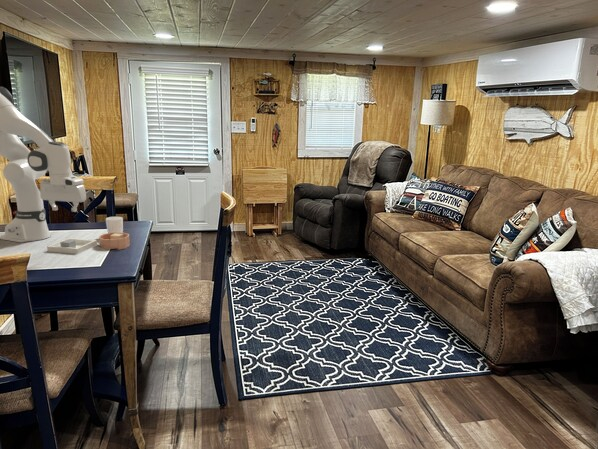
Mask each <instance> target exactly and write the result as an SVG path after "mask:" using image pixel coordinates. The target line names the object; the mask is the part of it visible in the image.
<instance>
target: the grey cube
mask: <svg viewBox="0 0 598 449" xmlns="http://www.w3.org/2000/svg"><path fill="white" fill-rule="evenodd" d="M64 240H65V239H64ZM61 241H62V240H61ZM59 242H60V241H59ZM60 244H61V247H70V248H76V245H75V240H65V241H62V242H60Z"/></svg>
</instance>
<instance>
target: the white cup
mask: <svg viewBox="0 0 598 449" xmlns="http://www.w3.org/2000/svg"><path fill="white" fill-rule="evenodd" d="M105 225H106V230H107V233H115V232H122V233H124V218H123V217H122V216H109V217H106V218H105Z"/></svg>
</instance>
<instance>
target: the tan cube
mask: <svg viewBox="0 0 598 449" xmlns="http://www.w3.org/2000/svg"><path fill="white" fill-rule="evenodd" d="M120 238H124V235H123V234H117V233H115V234H112V235H110V239H120Z"/></svg>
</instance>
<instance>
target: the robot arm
mask: <svg viewBox="0 0 598 449" xmlns="http://www.w3.org/2000/svg"><path fill="white" fill-rule="evenodd" d="M19 136H20V137H22V138H23V137H24V138H27V139H29V140H32V141H33V142H34V143H35V144H36V145H37V146H38V147H39V148H36V149H33V150H30V149H29V148H28V147H27V146H26V145H25V144H24V142H22V140H21V139H20V137H19ZM0 156H1V157H4V158H5V159H7V160H8V161H9V162H8V163H7V164H6V165H5V166H3V170H2V174H3V176H4V179H5V180H6V181H7V182H9V183H10V185H11V187H12V189H13V192H14V195H15V200H16V206H17V210H15V211H12V213H13V215H15V217H14V218H13V219H12V220H11V221H9V223H7V224H6V225H5V226H4V227H5V228H4V234H2V235H0V240H3V241H5V240H6V241H10V242H17V243H25V242H32V241H33V242H34V241H35V242H36V241H40V240H45V239H47V238H50V237H51V236H52V235H51V232H50V230H49V227H48V224H47V219H46V215H47V214H46V213H47V212H46V208H44V207H45V206H44V201H48V203H49V205H50V207H51V208H52V211H58V210H59V208H58V207H59V206H58V205H56V202H68V203H69V202H71V203H72V205H73V207H71V210H70V211H71V212H72V213H73V212H74V213H77V211H78V206H79V203H83V202H85V201H86V200H87V191H86V187H85V185H84V183H85V181H84V179H83V178H81V177H78V176H76V175H74V174H73V171H72V169H71V165H72V159H71V153H70V149H69V146H68V145H67V144H66V143H65V142H63V141H62V142H61V141H54V140H53V139H52V138H51V137H50V136H49V135H48V134H47V133H46V132H45V131H44V130H43V129H42V128H41V127H40V126H38V125H37V124H36V123H34V122H33V121H31V120H30V119H29V118H28V117H26V116H25V115H24V114H23V113H21V112H20V111H19V110H18V108H17V107H16V106H15V102H14V97H13V95H12V94H11V91H9V90H8V89H7V88H6V87H4V86H0ZM47 172H48V173H49V178H43V179H41V181H40V182H39V183H40V184H39V185H40V189H39V188H38V185H37V183H36V180H39V179H40V178H42V177H43V176H45V175H46V173H47Z"/></svg>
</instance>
